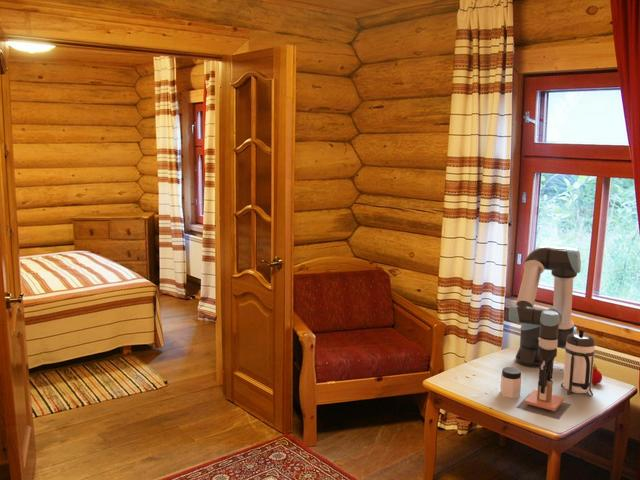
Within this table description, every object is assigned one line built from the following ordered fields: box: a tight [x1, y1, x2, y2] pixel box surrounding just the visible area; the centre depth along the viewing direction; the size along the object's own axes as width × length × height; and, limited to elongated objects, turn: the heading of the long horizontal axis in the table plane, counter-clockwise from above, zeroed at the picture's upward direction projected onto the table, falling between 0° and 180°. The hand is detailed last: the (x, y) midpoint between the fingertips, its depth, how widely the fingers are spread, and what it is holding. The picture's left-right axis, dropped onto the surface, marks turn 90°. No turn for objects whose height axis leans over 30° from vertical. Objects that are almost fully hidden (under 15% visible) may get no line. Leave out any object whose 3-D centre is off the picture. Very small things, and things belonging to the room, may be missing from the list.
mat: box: [516, 393, 572, 420], centre depth 260 cm, size 18×18×1 cm
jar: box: [500, 366, 522, 399], centre depth 271 cm, size 9×8×12 cm
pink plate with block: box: [523, 380, 565, 411], centre depth 259 cm, size 13×13×9 cm
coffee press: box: [560, 328, 597, 397], centre depth 273 cm, size 17×16×30 cm
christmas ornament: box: [591, 363, 603, 385], centre depth 284 cm, size 7×7×10 cm
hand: (544, 397), depth 260 cm, fingers closed on pink plate with block, 4 cm apart
